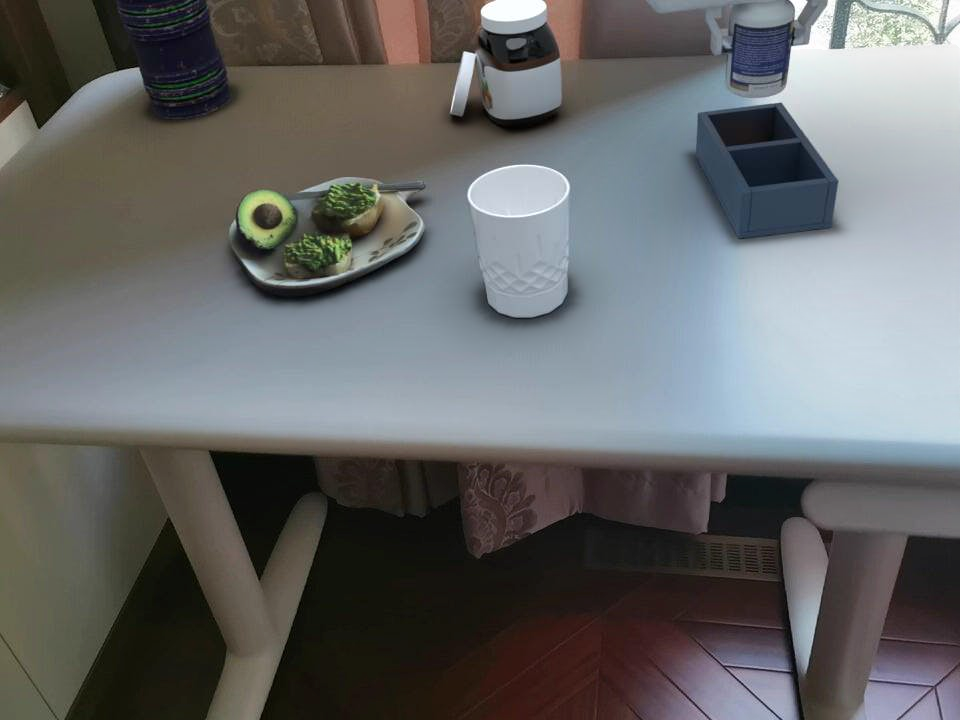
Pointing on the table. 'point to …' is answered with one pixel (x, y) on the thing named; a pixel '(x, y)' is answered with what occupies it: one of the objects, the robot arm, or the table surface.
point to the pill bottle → (760, 47)
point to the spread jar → (513, 65)
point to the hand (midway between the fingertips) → (758, 48)
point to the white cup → (522, 237)
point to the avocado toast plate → (323, 233)
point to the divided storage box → (765, 171)
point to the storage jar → (177, 56)
